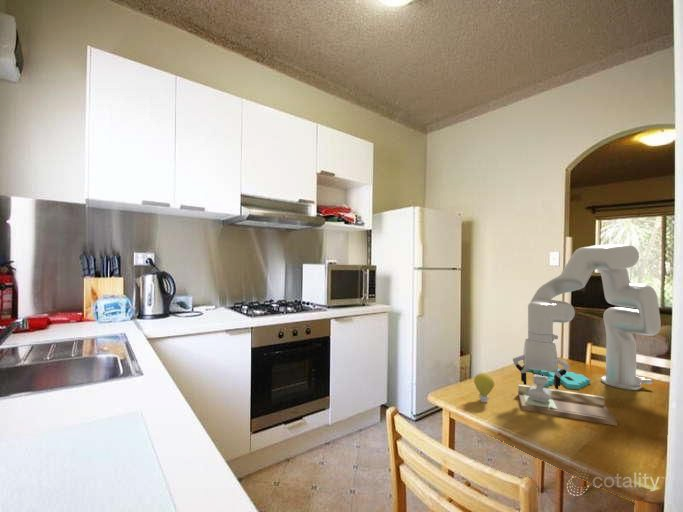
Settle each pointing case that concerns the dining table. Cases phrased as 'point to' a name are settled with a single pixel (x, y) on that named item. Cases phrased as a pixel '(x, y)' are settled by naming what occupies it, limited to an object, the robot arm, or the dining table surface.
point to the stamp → (539, 389)
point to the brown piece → (572, 406)
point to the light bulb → (484, 385)
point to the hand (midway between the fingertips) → (540, 385)
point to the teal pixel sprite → (565, 379)
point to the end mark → (548, 404)
